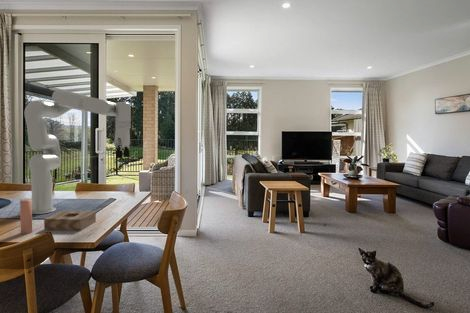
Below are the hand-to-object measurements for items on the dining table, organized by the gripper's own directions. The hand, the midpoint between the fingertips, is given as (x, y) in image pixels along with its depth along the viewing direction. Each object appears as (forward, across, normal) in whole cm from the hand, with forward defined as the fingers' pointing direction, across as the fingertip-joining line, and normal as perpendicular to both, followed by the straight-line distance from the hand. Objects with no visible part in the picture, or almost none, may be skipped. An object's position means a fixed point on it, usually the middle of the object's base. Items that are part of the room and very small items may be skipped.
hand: (122, 157), depth 156 cm
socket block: (+31, +23, -15) cm, 41 cm away
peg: (+31, +34, -28) cm, 54 cm away
